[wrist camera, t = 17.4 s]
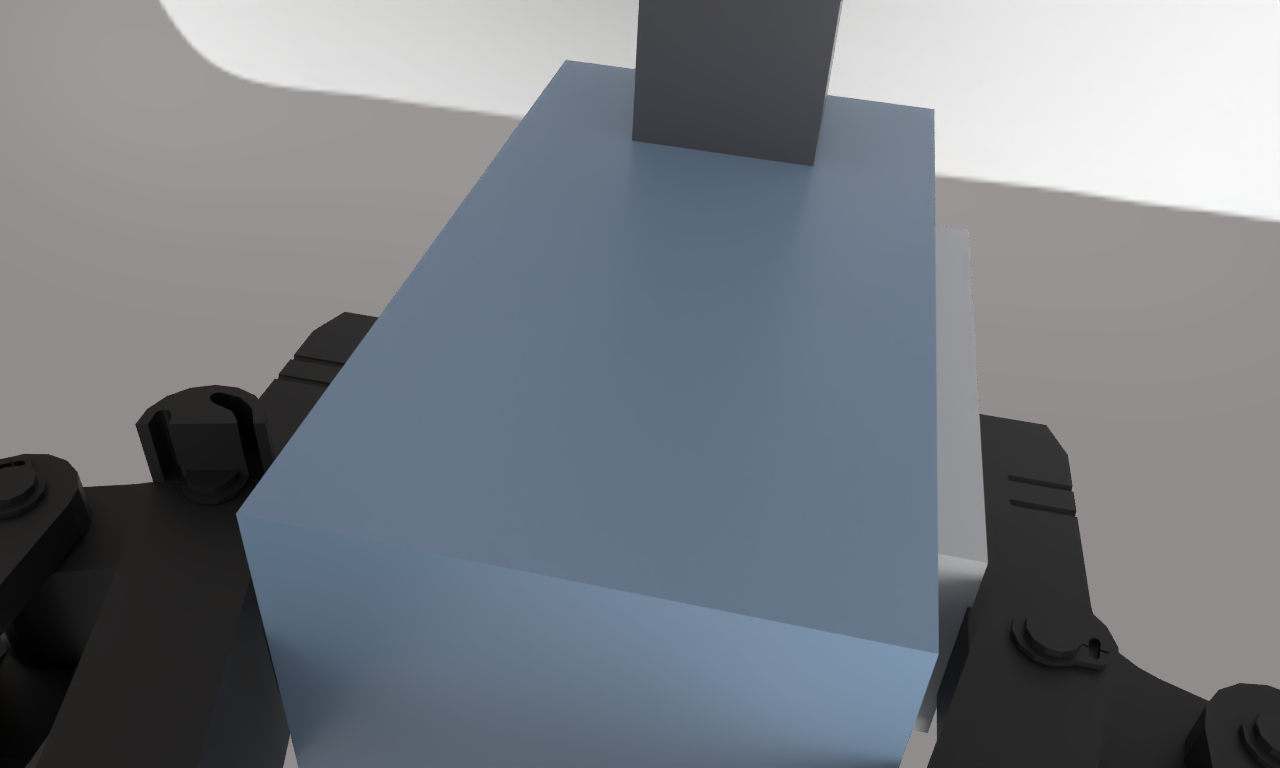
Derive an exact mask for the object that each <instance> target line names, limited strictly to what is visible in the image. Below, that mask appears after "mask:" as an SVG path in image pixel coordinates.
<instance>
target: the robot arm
mask: <svg viewBox="0 0 1280 768" xmlns="http://www.w3.org/2000/svg"><path fill="white" fill-rule="evenodd" d="M935 263H936V381H937V499H938V617H939V655H938V658H937V661H936V664H935V666H934V669H933V672H932V675H931V678H930V681H929V683H928V686H927V689H926V692H925V695H924V698H923V701H922V703H921V706H920V709H919V712H918V715H917V718H916V721H915V723H914V726H913V729H912V730H916V731H921V732H926V733H927V732H928V730H929V727H930V724H931V722H932V719H933V716H934V713H935V711H936V708H937V742H936V744H935V747H934V750H933V753H932V755H931V758H930V761H929V764H928V766H927V768H1280V690H1279V689H1276V688H1274V687H1271V686H1268V685H1258V684H1244V683H1239V684H1236V685H1233V686H1230V687H1227V688H1223V689H1221V690H1218V691H1217V693H1216V694H1215V695H1214V696H1213V697H1212V699H1211V700H1210V701H1207V700H1205V699H1202V698H1201V697H1198V696H1196V695H1194V694H1192V693H1189V692H1187V691H1185V690H1183V689H1180V688H1178V687H1176V686H1174V685H1171V684H1169V683H1167V682H1165V681H1162V680H1161V679H1158V678H1157V677H1155V676H1153V675H1151V674H1149V673H1147V672H1146V671H1144V670H1142V669H1140V668H1138V667H1137V666H1135V665H1134V664H1133V663H1132V662H1130V661H1129V660H1128V659H1126V658H1125V657H1124V656H1122V655H1121V654H1120V653H1119V652H1118V646H1117V645H1116V643H1115V641H1114V639H1113V637H1112V635H1111V634H1110V632H1109V630H1108V628H1107V627H1106V626H1105V625H1104V624H1103V623H1102V622H1101V621H1100V620H1099V619H1098V618H1097V617H1096V616H1094V614H1093V612H1092V608H1091V603H1090V597H1089V590H1088V584H1087V577H1086V571H1085V564H1084V558H1083V552H1082V545H1081V539H1080V532H1079V525H1078V520H1077V517H1075V514H1076V506H1075V500H1074V493H1073V492H1072V480H1071V473H1070V467H1069V461H1068V455H1067V453H1066V452H1065V451H1064V449H1063V448H1062V447H1061V445H1060V444H1059V442H1058V441H1057V440H1056V438H1055V437H1054V435H1053V434H1052V433H1051V431H1050V430H1049V428H1048V427H1047V426H1046V425H1042V424H1036V423H1030V422H1024V421H1018V420H1012V419H1005V418H999V417H994V416H988V415H982V414H979V400H978V382H977V365H976V347H975V330H974V313H973V295H972V280H971V279H972V277H971V260H970V242H969V231H968V230H962V229H955V228H948V227H941V226H935ZM378 318H379V317H372V316H366V315H360V314H354V313H348V312H344V313H342V314H341V315H339V316H337V317H335V318H334V319H332V320H330V321H329V322H327V323H326V324H324V325H322V326H321V327H319V328H317V329H316V330H314V331H313V332H312V333H311V334H310V336H309V337H308V338H307V339H306V341H305V342H304V343H303V344H302V346H301V347H300V348H299V349H298V351H297V352H296V353H295V354H294V359H293V360H290V361H289V362H288V363H287V364H286V366H285V367H284V368H283V369H282V371H281V372H280V373H279V377H278V379H274V381H273V382H272V383H271V384H270V386H269V387H268V388H267V389H266V391H265V392H264V393H263V394H262V396H261V397H260V398H259V399H258V398H257V397H256V396H255V395H253V394H251V393H249V392H246V391H244V390H242V389H240V388H236V387H228V386H220V385H212V386H203V387H195V388H189V389H186V390H183V391H181V392H178V393H175V394H172V395H169V396H167V397H165V398H163V399H162V400H160V401H159V402H157V403H156V404H155V405H153V406H151V407H150V408H148V409H147V410H146V411H145V413H144V414H143V415H142V417H141V418H140V419H139V420H138V422H137V423H136V424H135V425H136V428H137V431H138V434H139V437H140V441H141V443H142V447H143V450H144V454H145V456H146V460H147V463H148V466H149V470H150V473H151V476H152V479H153V482H149V483H142V484H130V485H113V486H95V487H83V486H82V483H81V481H80V478H79V475H78V472H77V471H76V470H75V469H74V468H73V467H72V466H71V465H70V463H69V462H68V461H66V460H64V459H61V458H58V457H55V456H52V455H49V454H23V455H18V456H13V457H8V458H4V459H0V768H283V765H284V760H285V755H286V751H287V746H288V741H289V737H290V731H289V727H288V723H287V719H286V714H285V710H284V706H283V702H282V698H281V694H280V690H279V686H278V682H277V678H276V674H275V670H274V666H273V662H272V658H271V654H270V650H269V646H268V642H267V638H266V633H265V629H264V625H263V621H262V617H261V613H260V609H259V605H258V601H257V597H256V593H255V589H254V585H253V581H252V577H251V573H250V569H249V565H248V561H247V557H246V552H245V548H244V544H243V540H242V536H241V532H240V528H239V524H238V520H237V516H236V513H237V512H238V510H239V509H240V508H241V506H242V505H243V503H244V502H245V501H246V499H247V498H248V497H249V495H250V494H251V492H252V491H253V490H254V488H255V487H256V486H257V484H258V483H259V481H260V480H261V479H262V477H263V476H264V475H265V473H266V472H267V470H268V469H269V468H270V466H271V465H272V464H273V462H274V461H275V459H276V458H277V457H278V455H279V454H280V453H281V451H282V450H283V448H284V447H285V446H286V444H287V443H288V442H289V440H290V439H291V437H292V436H293V435H294V433H295V432H296V431H297V429H298V428H299V426H300V425H301V424H302V422H303V421H304V420H305V418H306V417H307V415H308V414H309V413H310V411H311V410H312V409H313V407H314V406H315V404H316V403H317V402H318V400H319V399H320V398H321V396H322V395H323V393H324V392H325V391H326V389H327V388H328V387H329V385H330V384H331V382H332V381H333V380H334V378H335V377H336V376H337V374H338V373H339V371H340V370H341V369H342V367H343V366H344V365H345V363H346V362H347V360H348V359H349V358H350V356H351V355H352V354H353V352H354V351H355V349H356V348H357V347H358V345H359V344H360V343H361V341H362V340H363V338H364V337H365V336H366V334H367V333H368V332H369V330H370V329H371V327H372V326H373V325H374V323H375V322H376V321H377V319H378Z"/></svg>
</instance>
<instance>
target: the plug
mask: <svg viewBox="0 0 1280 768" xmlns="http://www.w3.org/2000/svg"><path fill="white" fill-rule="evenodd" d="M842 2H843V0H639V15H638V34H637V53H636V69H629V68H621V67H614V66H606V65H599V64H591V63H584V62H576V61H569V60H566V61H565V62H564V63H563V65H562V66H561V67H560V69H559V70H558V72H557V73H556V74H555V76H554V77H553V78H552V80H551V81H550V83H549V84H548V85H547V87H546V88H545V89H544V91H543V92H542V94H541V95H540V96H539V98H538V99H537V100H536V102H535V103H534V105H533V106H532V107H531V109H530V110H529V111H528V113H527V114H526V116H525V117H524V118H523V120H522V121H521V123H520V124H519V125H518V127H517V128H516V129H515V131H514V132H513V134H512V135H511V136H510V138H509V139H508V141H507V142H506V143H505V144H504V146H503V147H502V149H501V150H500V151H499V153H498V154H497V155H496V157H495V158H494V160H493V161H492V162H491V164H490V165H489V167H488V168H487V169H486V171H485V172H484V173H483V175H482V176H481V177H480V179H479V180H478V182H477V183H476V184H475V186H474V187H473V188H472V190H471V191H470V193H469V194H468V195H467V197H466V198H465V199H464V201H463V202H462V204H461V205H460V206H459V208H458V209H457V211H456V212H455V213H454V215H453V216H452V218H451V219H450V220H449V222H448V223H447V224H446V226H445V227H444V228H443V230H442V231H441V232H440V234H439V235H438V237H437V238H436V239H435V241H434V242H433V244H432V245H431V246H430V248H429V249H428V251H427V252H426V253H425V254H424V256H423V257H422V259H421V260H420V261H419V263H418V264H417V265H416V267H415V268H414V270H413V271H412V272H411V274H410V275H409V277H408V278H407V279H406V281H405V282H404V283H403V285H402V286H401V288H400V289H399V290H398V292H397V293H396V294H395V296H394V297H393V298H392V300H391V301H390V303H389V304H388V305H387V307H386V308H385V310H384V311H383V313H382V314H381V315H380V316H379V318H378V319H377V321H376V322H375V323H374V325H373V326H372V327H371V329H370V330H369V332H368V333H367V334H366V336H365V337H364V338H363V340H362V341H361V343H360V344H359V345H358V347H357V348H356V349H355V351H354V352H353V354H352V355H351V356H350V358H349V359H348V360H347V362H346V363H345V365H344V366H343V367H342V369H341V370H340V371H339V373H338V374H337V376H336V377H335V378H334V380H333V381H332V382H331V384H330V385H329V387H328V388H327V389H326V391H325V392H324V393H323V395H322V396H321V398H320V399H319V400H318V402H317V403H316V404H315V406H314V407H313V409H312V410H311V411H310V413H309V414H308V415H307V417H306V418H305V420H304V421H303V422H302V424H301V425H300V426H299V428H298V429H297V431H296V432H295V433H294V435H293V436H292V437H291V439H290V440H289V442H288V443H287V444H286V446H285V447H284V448H283V450H282V451H281V453H280V454H279V455H278V457H277V458H276V459H275V461H274V462H273V464H272V465H271V466H270V468H269V469H268V470H267V472H266V473H265V475H264V476H263V477H262V479H261V480H260V481H259V483H258V484H257V486H256V487H255V488H254V490H253V491H252V492H251V494H250V495H249V497H248V498H247V499H246V501H245V502H244V503H243V505H242V506H241V508H240V509H239V510H238V512H237V513H236V516H237V520H238V524H239V528H240V532H241V536H242V540H243V544H244V548H245V552H246V557H247V561H248V565H249V569H250V573H251V577H252V581H253V585H254V589H255V593H256V597H257V601H258V605H259V609H260V613H261V617H262V621H263V625H264V629H265V633H266V638H267V642H268V646H269V650H270V654H271V658H272V662H273V666H274V670H275V674H276V678H277V682H278V686H279V690H280V694H281V698H282V702H283V706H284V710H285V714H286V719H287V723H288V727H289V731H290V734H291V739H292V743H293V747H294V751H295V755H296V758H297V763H298V767H299V768H899V766H900V763H901V760H902V757H903V755H904V752H905V749H906V746H907V743H908V740H909V738H910V735H911V732H912V729H913V726H914V723H915V721H916V718H917V715H918V712H919V709H920V706H921V703H922V701H923V698H924V695H925V692H926V689H927V686H928V683H929V681H930V678H931V675H932V672H933V669H934V666H935V664H936V661H937V658H938V655H939V617H938V499H937V381H936V263H935V145H934V109H927V108H920V107H912V106H905V105H898V104H890V103H883V102H875V101H868V100H860V99H853V98H845V97H838V96H830V95H827V92H828V86H829V80H830V74H831V68H832V62H833V56H834V50H835V44H836V38H837V32H838V26H839V20H840V14H841V8H842Z"/></svg>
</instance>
